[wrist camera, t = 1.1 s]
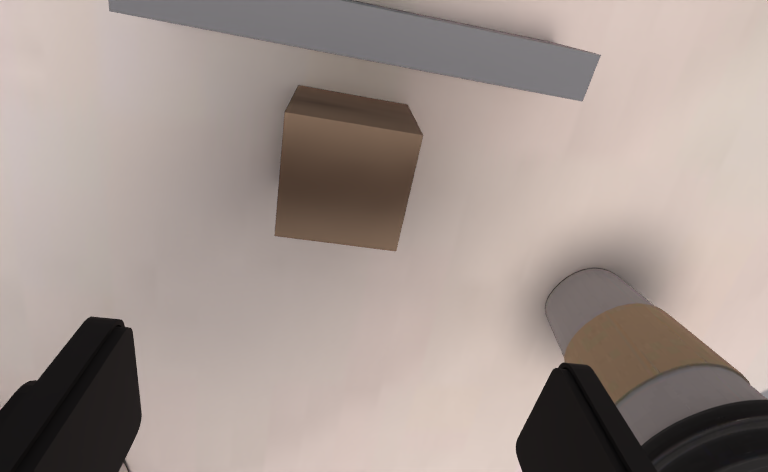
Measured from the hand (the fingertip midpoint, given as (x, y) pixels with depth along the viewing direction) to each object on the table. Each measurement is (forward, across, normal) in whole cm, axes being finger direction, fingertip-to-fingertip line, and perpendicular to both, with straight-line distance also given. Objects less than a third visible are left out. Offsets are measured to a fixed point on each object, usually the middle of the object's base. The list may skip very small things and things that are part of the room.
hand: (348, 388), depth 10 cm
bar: (+18, 0, -6) cm, 19 cm away
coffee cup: (+18, -19, +9) cm, 27 cm away
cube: (+18, 0, 0) cm, 18 cm away
